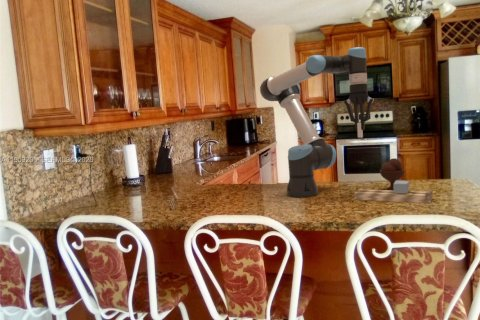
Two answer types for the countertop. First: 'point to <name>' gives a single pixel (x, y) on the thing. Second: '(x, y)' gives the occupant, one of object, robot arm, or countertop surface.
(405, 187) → the rider
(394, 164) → the ice cream bowl
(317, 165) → the robot arm
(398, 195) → the rail
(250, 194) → the countertop surface
